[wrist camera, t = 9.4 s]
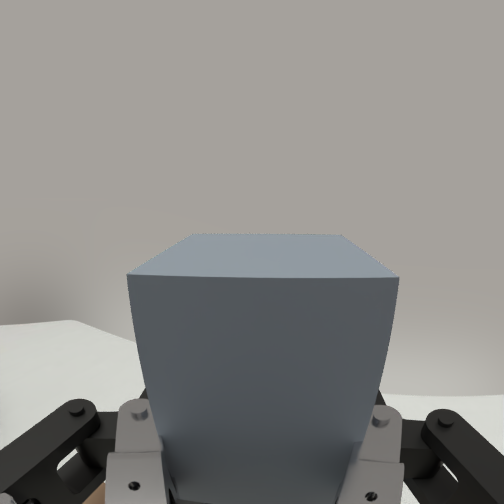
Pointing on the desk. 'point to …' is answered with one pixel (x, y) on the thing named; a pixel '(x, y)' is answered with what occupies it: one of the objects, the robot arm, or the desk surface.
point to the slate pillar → (261, 361)
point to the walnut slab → (97, 496)
